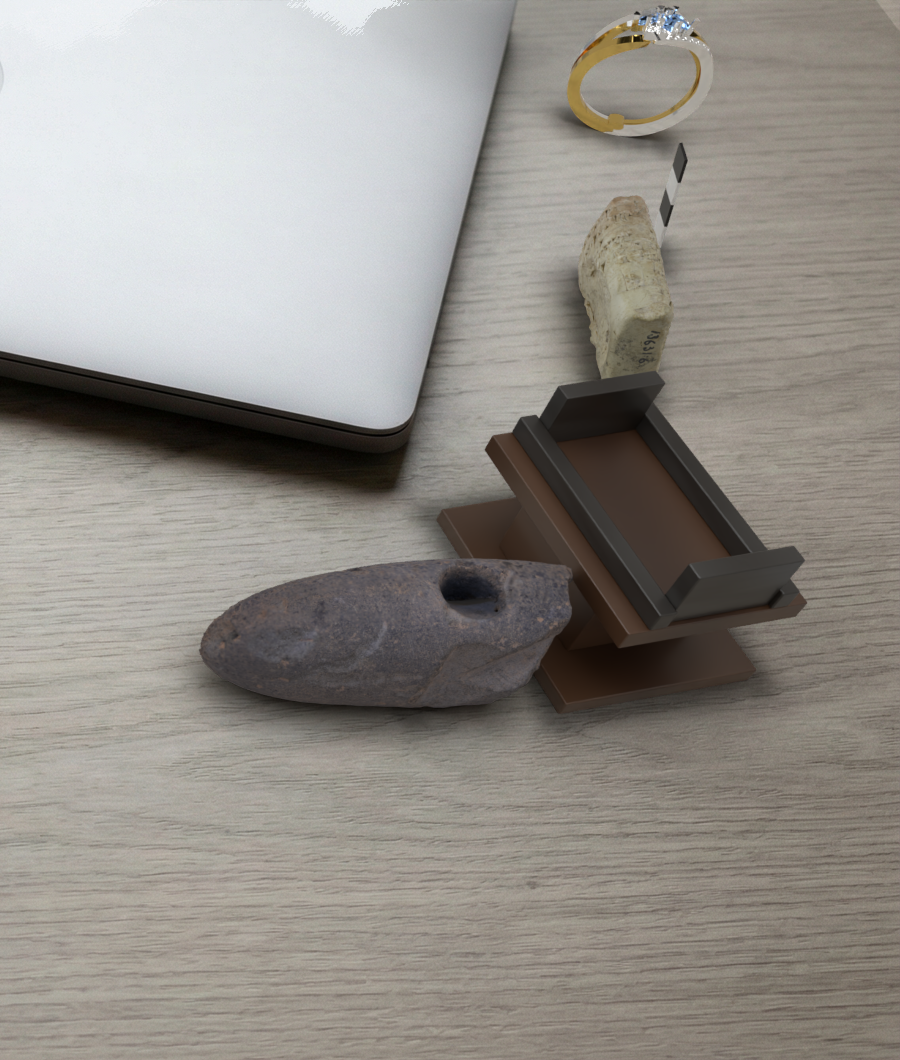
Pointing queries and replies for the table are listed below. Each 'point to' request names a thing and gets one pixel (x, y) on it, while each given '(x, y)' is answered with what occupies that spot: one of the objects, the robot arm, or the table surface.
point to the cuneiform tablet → (629, 281)
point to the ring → (657, 29)
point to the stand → (627, 547)
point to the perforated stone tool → (395, 633)
